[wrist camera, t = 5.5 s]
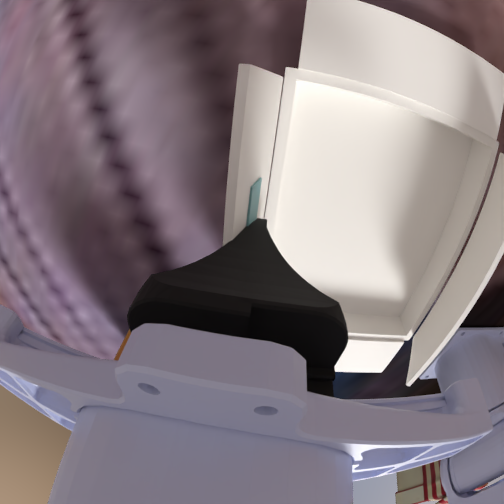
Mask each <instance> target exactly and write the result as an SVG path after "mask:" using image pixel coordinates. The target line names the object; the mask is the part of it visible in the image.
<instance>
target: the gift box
mask: <svg viewBox="0 0 504 504" xmlns="http://www.w3.org/2000/svg"><path fill="white" fill-rule="evenodd" d="M440 461H441V460H438V461H435V462H432V463H428V464H425V465H422V466H418V467H415V468H411V469H407V470H404V471H400V472H397V486H398V492H396V493H395V496H396V504H418V503H421V502H425V501H436V500H437V501H438V502H437V503H436V504H448V499H447V495H446V492H445V490H444V488H443V486H442V482H441V477H440ZM487 484H488V483H486V484H484V485H482V486H480V487H478V488H476V489H474V490H476V491H477V490H480V489H482V488H483V487H485V486H486V485H487Z"/></svg>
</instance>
